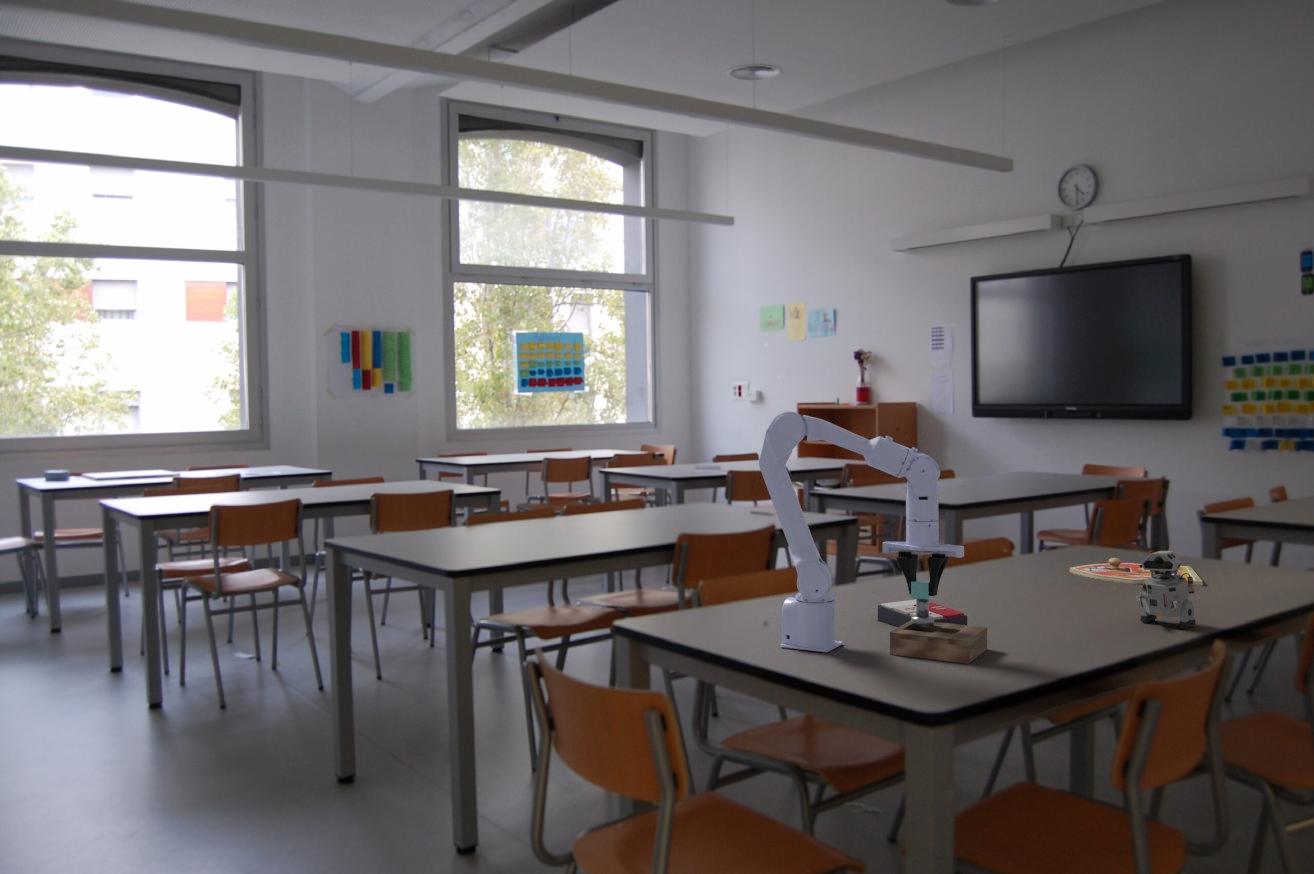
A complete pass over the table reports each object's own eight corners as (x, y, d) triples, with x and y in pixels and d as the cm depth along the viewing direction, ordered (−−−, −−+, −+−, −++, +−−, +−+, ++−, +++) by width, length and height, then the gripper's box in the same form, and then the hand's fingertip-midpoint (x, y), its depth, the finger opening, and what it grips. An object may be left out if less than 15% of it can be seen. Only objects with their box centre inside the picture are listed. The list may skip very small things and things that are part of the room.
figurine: (1125, 627, 201) (1125, 551, 201) (1154, 618, 208) (1154, 545, 208) (1172, 634, 194) (1172, 556, 194) (1200, 625, 201) (1200, 550, 201)
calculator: (924, 618, 197) (876, 601, 211) (924, 640, 198) (876, 621, 211) (968, 612, 202) (919, 596, 216) (968, 633, 202) (918, 616, 216)
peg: (908, 625, 185) (908, 581, 185) (915, 622, 188) (915, 579, 188) (929, 627, 183) (929, 583, 183) (936, 624, 186) (936, 580, 186)
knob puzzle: (1204, 589, 242) (1204, 570, 242) (1070, 583, 253) (1070, 565, 253) (1188, 570, 269) (1188, 553, 269) (1068, 565, 280) (1068, 549, 280)
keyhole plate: (890, 654, 183) (889, 632, 183) (912, 640, 193) (911, 619, 193) (968, 663, 175) (968, 640, 175) (987, 649, 185) (987, 627, 185)
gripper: (876, 520, 186) (877, 594, 186) (955, 524, 178) (956, 601, 179) (889, 516, 192) (890, 588, 192) (967, 520, 184) (967, 594, 184)
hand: (923, 594), depth 186 cm, fingers closed on peg, 3 cm apart
